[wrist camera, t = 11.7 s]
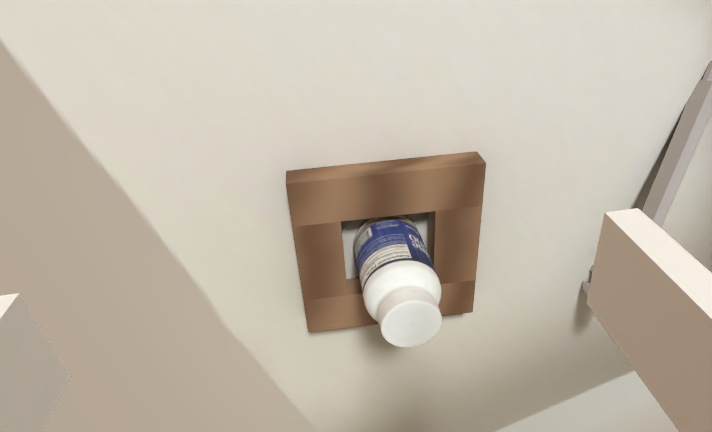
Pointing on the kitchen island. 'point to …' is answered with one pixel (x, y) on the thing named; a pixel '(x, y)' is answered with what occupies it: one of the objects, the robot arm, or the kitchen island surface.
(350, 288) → the holder block
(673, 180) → the caliper
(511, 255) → the kitchen island surface
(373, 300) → the pill bottle
